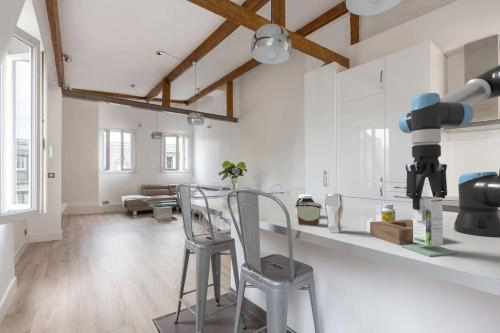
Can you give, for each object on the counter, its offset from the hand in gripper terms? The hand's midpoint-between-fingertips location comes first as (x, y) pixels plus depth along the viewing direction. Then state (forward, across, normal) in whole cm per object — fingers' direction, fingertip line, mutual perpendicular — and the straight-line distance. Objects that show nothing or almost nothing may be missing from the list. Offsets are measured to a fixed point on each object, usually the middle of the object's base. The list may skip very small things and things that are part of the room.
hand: (427, 219), depth 83 cm
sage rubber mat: (+9, 0, 0) cm, 9 cm away
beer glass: (+10, +13, -31) cm, 35 cm away
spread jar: (+10, +8, -66) cm, 67 cm away
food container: (+10, +16, -46) cm, 50 cm away
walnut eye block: (+9, -5, -14) cm, 18 cm away
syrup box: (+8, 0, 0) cm, 8 cm away
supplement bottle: (+10, -15, -33) cm, 38 cm away
